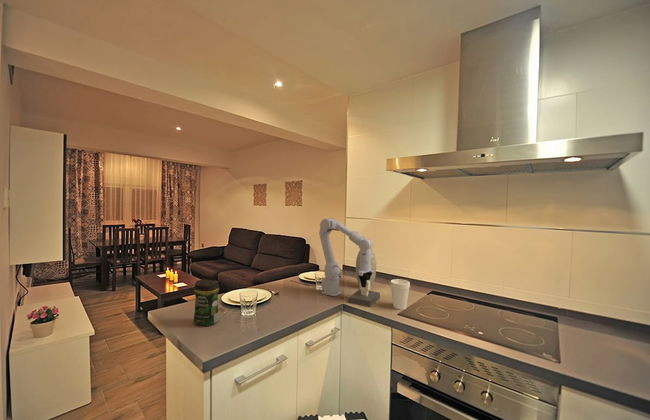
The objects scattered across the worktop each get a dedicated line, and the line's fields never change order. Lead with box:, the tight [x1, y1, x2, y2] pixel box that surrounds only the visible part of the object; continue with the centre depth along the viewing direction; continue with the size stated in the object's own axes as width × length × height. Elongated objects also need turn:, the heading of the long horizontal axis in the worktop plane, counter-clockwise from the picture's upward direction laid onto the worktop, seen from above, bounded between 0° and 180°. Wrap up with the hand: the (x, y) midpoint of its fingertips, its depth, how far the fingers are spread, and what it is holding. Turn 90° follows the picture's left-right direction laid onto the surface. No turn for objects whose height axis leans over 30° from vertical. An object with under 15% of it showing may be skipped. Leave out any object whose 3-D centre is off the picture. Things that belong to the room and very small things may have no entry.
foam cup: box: [390, 278, 411, 310], centre depth 136 cm, size 10×9×13 cm
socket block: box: [348, 288, 381, 308], centre depth 146 cm, size 12×16×3 cm
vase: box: [355, 247, 377, 289], centre depth 169 cm, size 13×13×28 cm
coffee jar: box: [193, 278, 220, 327], centre depth 115 cm, size 10×8×19 cm
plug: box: [359, 280, 371, 296], centre depth 146 cm, size 5×3×8 cm
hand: (364, 286), depth 146 cm, fingers open, 4 cm apart
